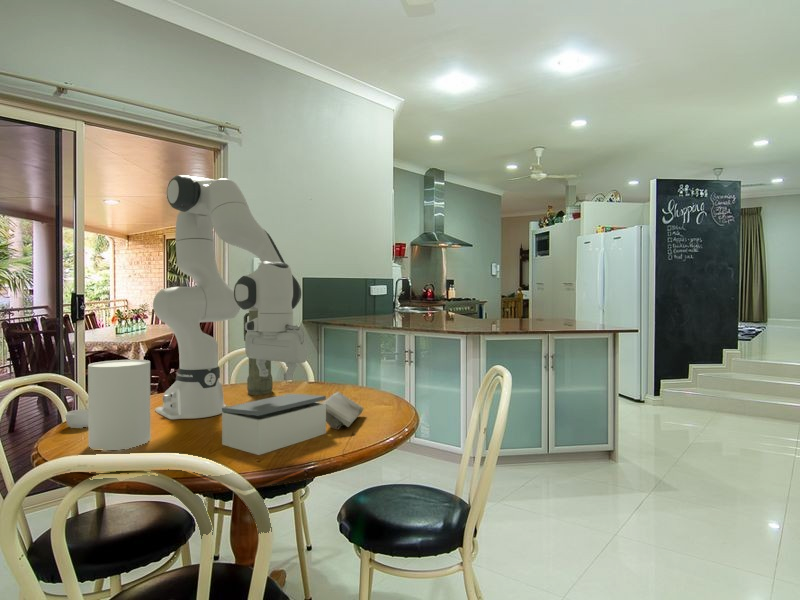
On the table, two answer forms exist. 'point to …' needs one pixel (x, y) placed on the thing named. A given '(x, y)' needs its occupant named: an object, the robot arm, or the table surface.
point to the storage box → (273, 428)
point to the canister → (118, 404)
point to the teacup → (77, 418)
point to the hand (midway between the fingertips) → (275, 378)
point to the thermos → (254, 381)
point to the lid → (273, 404)
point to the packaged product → (341, 410)
